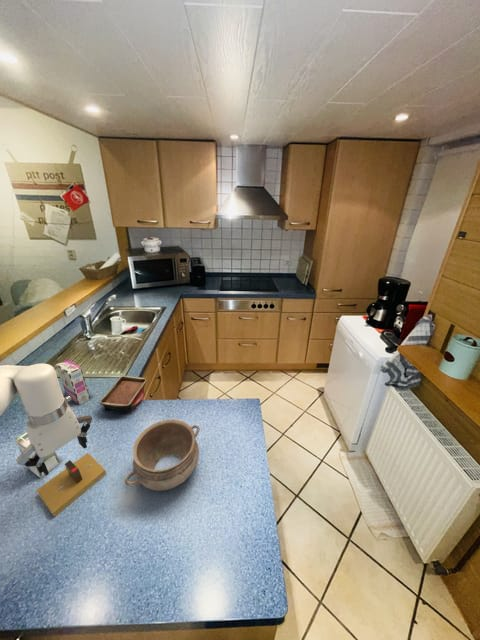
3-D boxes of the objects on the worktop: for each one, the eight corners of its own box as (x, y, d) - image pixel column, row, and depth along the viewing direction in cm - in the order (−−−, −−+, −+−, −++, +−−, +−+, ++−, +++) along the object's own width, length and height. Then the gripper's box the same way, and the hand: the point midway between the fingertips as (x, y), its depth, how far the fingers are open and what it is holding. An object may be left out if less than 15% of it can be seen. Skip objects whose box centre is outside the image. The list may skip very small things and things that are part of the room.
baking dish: (153, 396, 111) (150, 375, 108) (129, 422, 94) (124, 399, 91) (123, 394, 113) (120, 374, 110) (95, 419, 96) (90, 396, 94)
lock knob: (68, 474, 73) (64, 463, 71) (74, 470, 74) (69, 459, 72) (77, 483, 71) (72, 472, 69) (82, 479, 72) (78, 468, 70)
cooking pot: (149, 529, 64) (142, 500, 59) (115, 480, 75) (106, 452, 70) (219, 460, 81) (218, 433, 76) (182, 429, 92) (179, 403, 87)
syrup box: (50, 456, 81) (35, 424, 75) (61, 464, 79) (47, 431, 73) (30, 472, 77) (13, 438, 71) (42, 480, 74) (25, 447, 68)
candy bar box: (91, 399, 105) (82, 367, 98) (79, 407, 101) (68, 374, 95) (78, 389, 111) (68, 358, 104) (66, 396, 107) (54, 364, 100)
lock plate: (55, 519, 65) (52, 512, 64) (39, 496, 70) (35, 489, 69) (107, 476, 76) (105, 469, 75) (89, 459, 81) (87, 452, 80)
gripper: (77, 386, 70) (89, 430, 77) (-3, 426, 57) (21, 475, 64) (91, 397, 67) (103, 443, 74) (9, 442, 53) (33, 492, 61)
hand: (65, 458), depth 69 cm, fingers open, 9 cm apart
